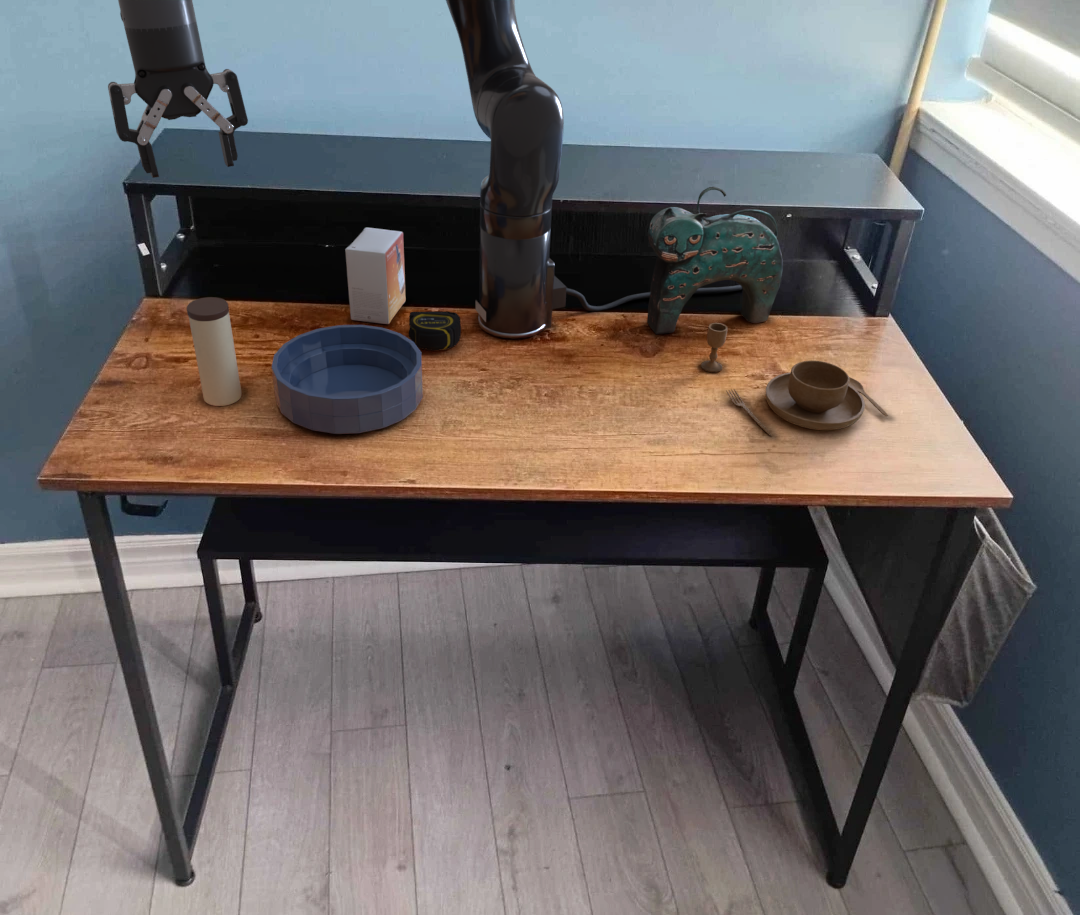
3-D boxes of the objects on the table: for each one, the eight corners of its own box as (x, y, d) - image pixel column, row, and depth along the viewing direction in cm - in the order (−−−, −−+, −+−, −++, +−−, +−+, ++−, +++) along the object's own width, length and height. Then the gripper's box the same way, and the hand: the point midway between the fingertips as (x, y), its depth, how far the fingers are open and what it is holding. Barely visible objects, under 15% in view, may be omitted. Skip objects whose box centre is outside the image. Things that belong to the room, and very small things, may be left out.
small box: (388, 326, 133) (385, 253, 127) (349, 320, 134) (344, 248, 128) (407, 300, 140) (404, 230, 134) (369, 295, 140) (365, 225, 134)
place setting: (776, 447, 113) (786, 404, 110) (693, 364, 128) (699, 324, 125) (899, 421, 119) (911, 380, 116) (805, 345, 134) (814, 306, 131)
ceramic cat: (646, 340, 133) (664, 197, 122) (630, 318, 138) (645, 179, 127) (778, 326, 138) (806, 188, 127) (757, 305, 143) (783, 171, 132)
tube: (238, 383, 120) (224, 294, 113) (245, 402, 116) (231, 311, 109) (200, 390, 118) (183, 300, 111) (206, 409, 115) (189, 317, 108)
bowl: (397, 353, 127) (395, 315, 124) (442, 421, 115) (442, 381, 112) (263, 377, 121) (258, 338, 118) (296, 452, 109) (291, 410, 105)
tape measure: (460, 331, 133) (460, 307, 131) (461, 356, 127) (461, 331, 125) (409, 331, 132) (408, 306, 130) (408, 356, 127) (407, 331, 125)
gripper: (93, 31, 101) (133, 188, 109) (233, 17, 106) (260, 168, 114) (87, 23, 106) (125, 172, 115) (219, 10, 112) (247, 154, 120)
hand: (192, 170), depth 115 cm, fingers open, 8 cm apart
